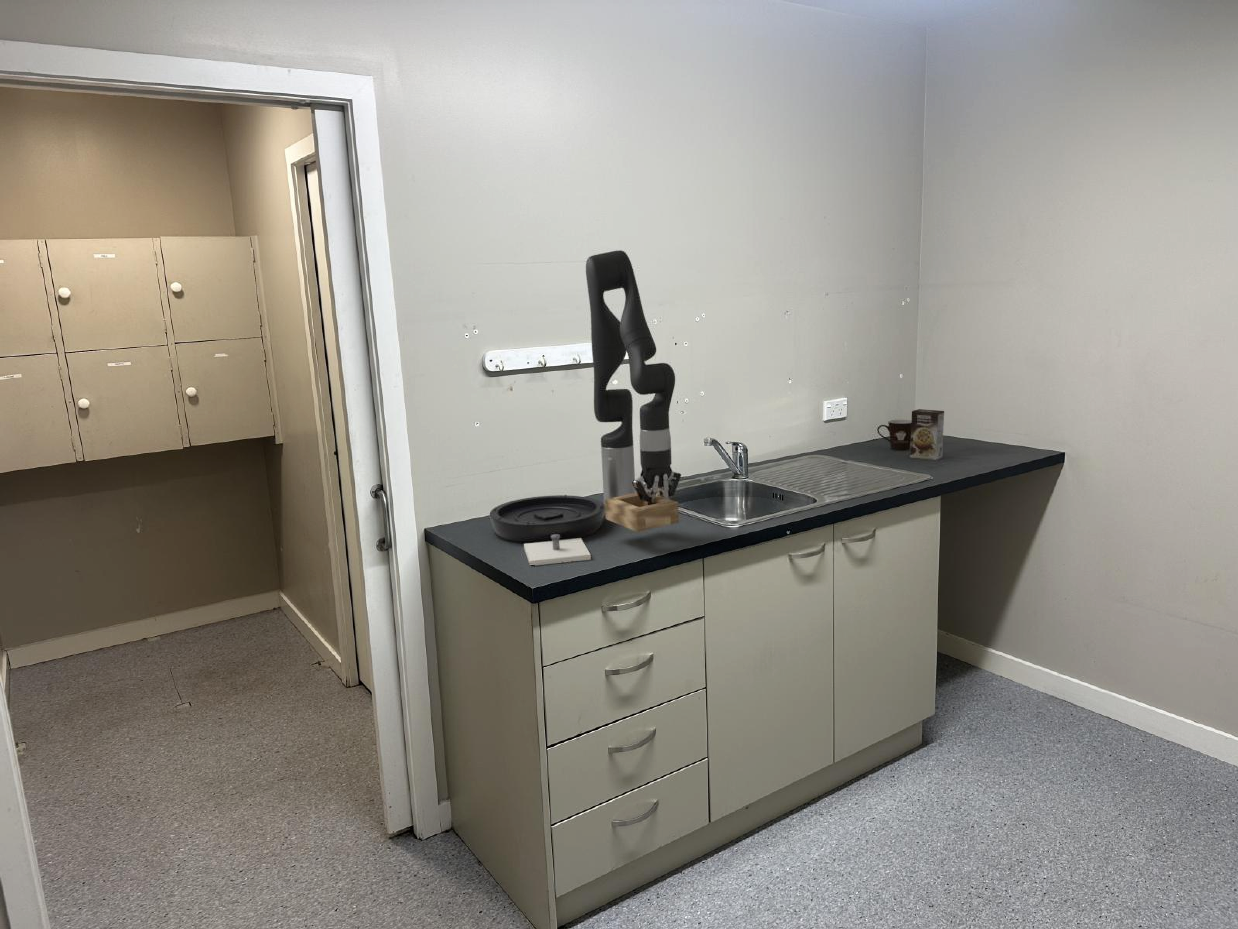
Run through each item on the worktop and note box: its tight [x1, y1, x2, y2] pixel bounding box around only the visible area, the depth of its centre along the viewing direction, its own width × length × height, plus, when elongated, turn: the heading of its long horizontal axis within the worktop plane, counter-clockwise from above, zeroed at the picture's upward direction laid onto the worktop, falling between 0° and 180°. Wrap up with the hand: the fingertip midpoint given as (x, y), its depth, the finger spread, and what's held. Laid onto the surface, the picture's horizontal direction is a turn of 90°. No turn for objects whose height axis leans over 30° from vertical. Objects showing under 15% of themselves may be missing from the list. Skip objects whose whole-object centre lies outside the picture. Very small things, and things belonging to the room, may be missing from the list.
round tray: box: [489, 494, 605, 544], centre depth 223 cm, size 30×6×30 cm
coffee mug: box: [876, 419, 912, 452], centre depth 306 cm, size 12×9×10 cm
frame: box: [604, 492, 680, 533], centre depth 207 cm, size 14×12×5 cm
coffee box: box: [909, 408, 945, 461], centre depth 289 cm, size 9×6×16 cm
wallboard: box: [523, 534, 592, 566], centre depth 201 cm, size 14×14×4 cm
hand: (657, 515), depth 209 cm, fingers closed on frame, 2 cm apart
